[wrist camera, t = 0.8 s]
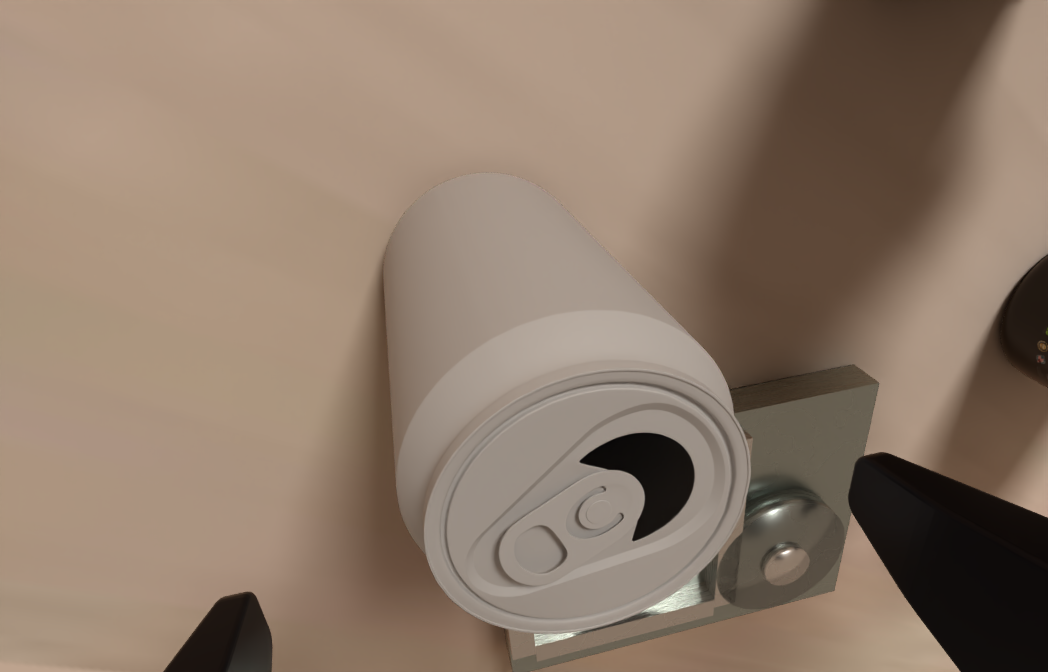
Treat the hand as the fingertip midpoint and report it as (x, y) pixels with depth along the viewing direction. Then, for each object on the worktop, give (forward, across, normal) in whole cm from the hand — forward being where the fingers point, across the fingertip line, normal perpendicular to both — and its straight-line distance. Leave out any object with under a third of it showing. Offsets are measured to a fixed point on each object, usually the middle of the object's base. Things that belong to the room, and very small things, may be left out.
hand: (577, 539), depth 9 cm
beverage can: (+13, 0, +1) cm, 13 cm away
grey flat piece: (+13, -8, +14) cm, 20 cm away
